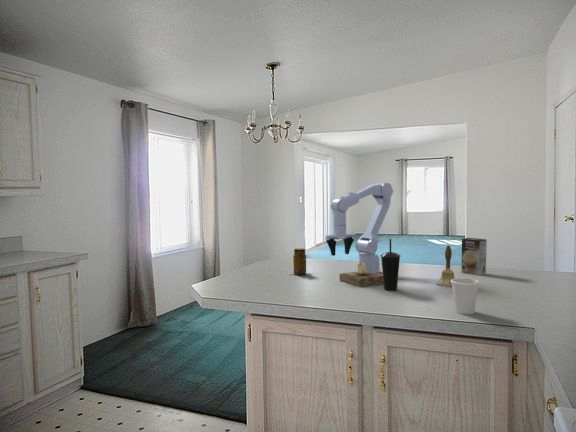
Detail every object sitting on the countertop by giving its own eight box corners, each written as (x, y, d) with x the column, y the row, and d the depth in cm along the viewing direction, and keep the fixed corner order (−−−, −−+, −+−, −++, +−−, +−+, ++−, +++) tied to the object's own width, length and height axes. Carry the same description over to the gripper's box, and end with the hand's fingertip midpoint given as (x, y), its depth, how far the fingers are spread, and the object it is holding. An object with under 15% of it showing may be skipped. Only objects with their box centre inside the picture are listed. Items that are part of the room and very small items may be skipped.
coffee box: (460, 272, 200) (460, 238, 199) (468, 271, 203) (468, 237, 202) (478, 275, 192) (479, 240, 191) (486, 273, 196) (487, 239, 195)
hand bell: (459, 283, 178) (459, 244, 177) (457, 287, 170) (458, 247, 169) (438, 281, 181) (438, 244, 180) (436, 285, 174) (436, 246, 173)
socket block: (365, 277, 193) (365, 270, 193) (385, 282, 181) (385, 275, 181) (339, 280, 187) (339, 273, 187) (359, 286, 175) (359, 279, 174)
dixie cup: (450, 314, 133) (450, 282, 133) (450, 307, 141) (450, 277, 141) (480, 316, 130) (480, 284, 130) (478, 309, 138) (478, 278, 138)
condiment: (300, 272, 209) (300, 247, 208) (312, 274, 202) (312, 249, 202) (289, 274, 204) (288, 249, 203) (301, 276, 198) (300, 250, 197)
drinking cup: (401, 288, 170) (401, 238, 169) (399, 292, 163) (399, 240, 162) (381, 286, 173) (381, 237, 172) (379, 291, 166) (379, 239, 165)
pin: (360, 278, 187) (360, 263, 186) (367, 280, 184) (367, 263, 184) (356, 280, 184) (356, 264, 183) (363, 281, 182) (363, 265, 181)
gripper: (347, 223, 202) (348, 252, 203) (321, 225, 196) (322, 254, 196) (356, 224, 196) (357, 254, 197) (330, 226, 189) (330, 256, 190)
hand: (340, 254), depth 196 cm, fingers open, 7 cm apart
